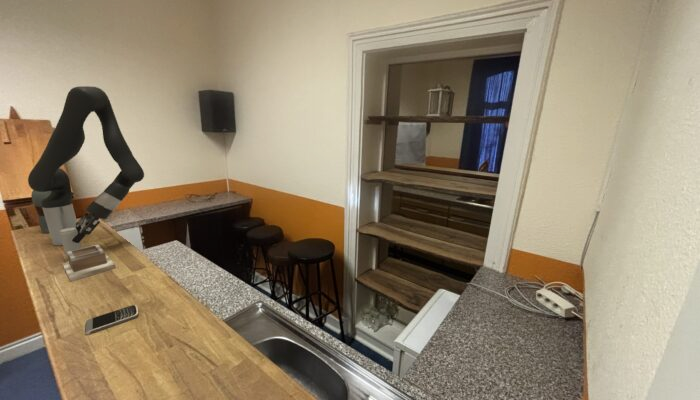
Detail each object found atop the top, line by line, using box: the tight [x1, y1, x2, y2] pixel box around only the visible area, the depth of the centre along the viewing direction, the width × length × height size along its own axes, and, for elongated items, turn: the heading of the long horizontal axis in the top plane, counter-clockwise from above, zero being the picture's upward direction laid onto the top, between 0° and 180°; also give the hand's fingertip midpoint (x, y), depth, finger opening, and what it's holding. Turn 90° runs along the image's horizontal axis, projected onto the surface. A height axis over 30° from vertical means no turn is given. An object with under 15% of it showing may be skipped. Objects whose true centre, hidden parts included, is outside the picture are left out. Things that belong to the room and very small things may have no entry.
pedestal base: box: [62, 243, 116, 282], centre depth 102 cm, size 16×12×7 cm
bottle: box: [30, 189, 51, 234], centre depth 136 cm, size 9×9×30 cm
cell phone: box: [84, 304, 139, 336], centre depth 74 cm, size 6×11×1 cm, turn 131°
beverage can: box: [60, 228, 83, 260], centre depth 109 cm, size 5×5×12 cm
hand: (72, 239), depth 109 cm, fingers open, 8 cm apart
